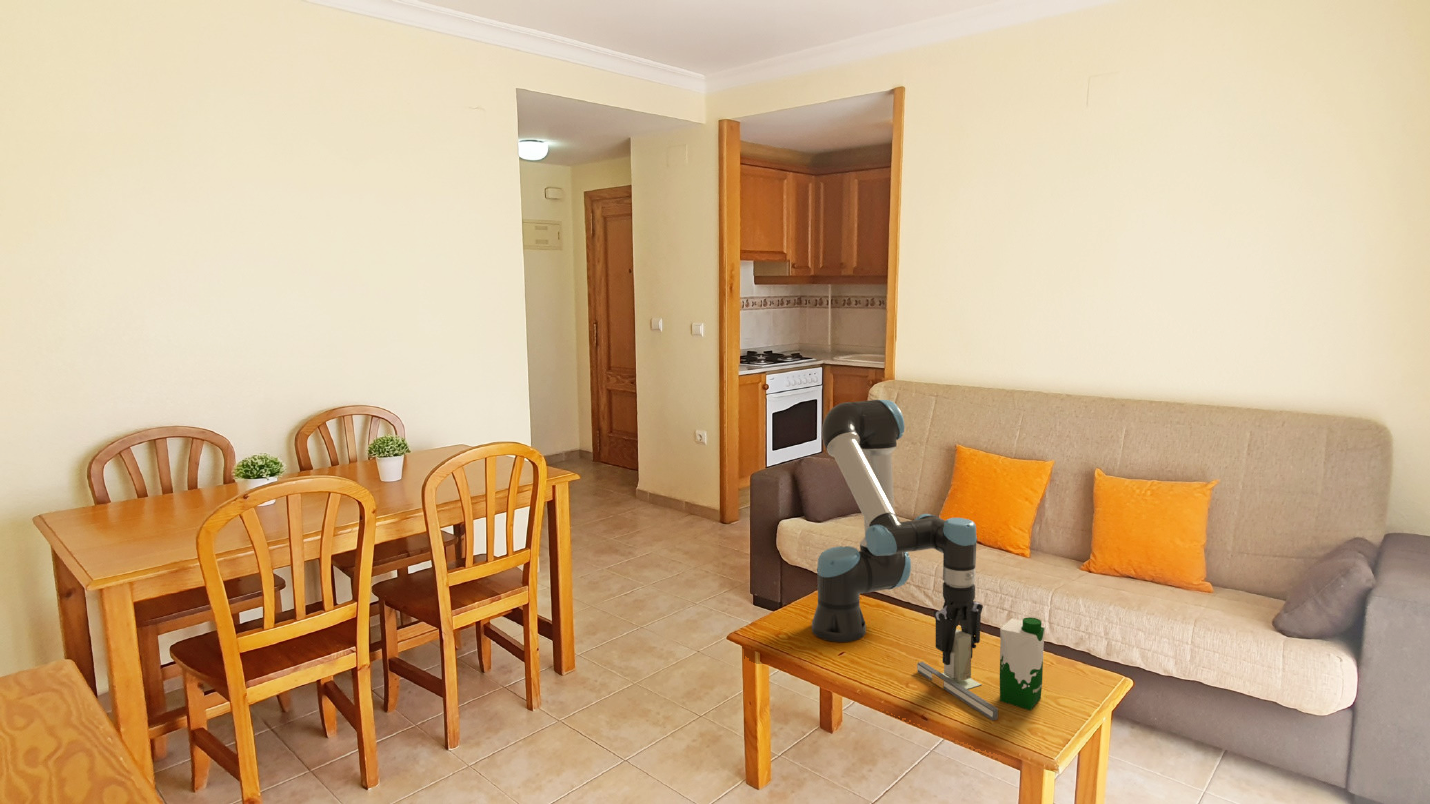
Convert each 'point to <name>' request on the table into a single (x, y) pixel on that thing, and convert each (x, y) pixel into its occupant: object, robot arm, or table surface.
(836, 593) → the robot arm
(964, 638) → the box
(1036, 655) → the fresh milk carton
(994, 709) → the rail
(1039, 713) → the table surface
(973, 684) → the pad
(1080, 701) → the table surface
